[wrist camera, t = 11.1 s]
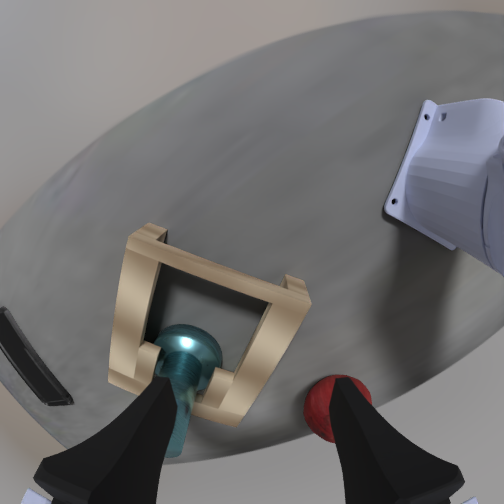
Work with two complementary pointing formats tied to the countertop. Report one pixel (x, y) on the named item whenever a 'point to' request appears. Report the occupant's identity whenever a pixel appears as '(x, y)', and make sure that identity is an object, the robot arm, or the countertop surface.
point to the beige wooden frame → (222, 381)
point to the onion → (325, 405)
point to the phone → (29, 363)
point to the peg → (185, 372)
